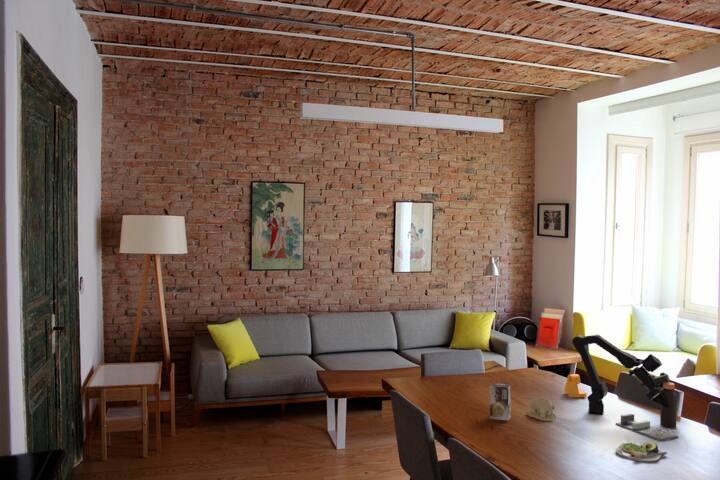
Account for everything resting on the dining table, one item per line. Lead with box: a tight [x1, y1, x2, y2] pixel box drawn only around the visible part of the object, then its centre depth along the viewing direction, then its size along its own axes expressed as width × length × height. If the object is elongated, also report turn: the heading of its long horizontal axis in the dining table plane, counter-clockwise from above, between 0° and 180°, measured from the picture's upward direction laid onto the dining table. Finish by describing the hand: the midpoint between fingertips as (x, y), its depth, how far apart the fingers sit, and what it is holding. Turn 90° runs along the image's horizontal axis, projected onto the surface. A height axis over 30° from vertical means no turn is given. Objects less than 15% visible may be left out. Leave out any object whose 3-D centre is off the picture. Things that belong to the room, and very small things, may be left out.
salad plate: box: [615, 441, 668, 463], centre depth 246 cm, size 19×18×5 cm
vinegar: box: [659, 381, 678, 429], centre depth 284 cm, size 7×7×20 cm
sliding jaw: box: [620, 413, 651, 429], centre depth 282 cm, size 10×9×4 cm
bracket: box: [564, 373, 588, 398], centre depth 335 cm, size 11×7×12 cm, turn 13°
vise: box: [615, 420, 679, 442], centre depth 276 cm, size 24×11×3 cm, turn 24°
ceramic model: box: [526, 396, 556, 422], centre depth 297 cm, size 14×11×10 cm
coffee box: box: [489, 382, 512, 421], centre depth 294 cm, size 9×6×16 cm
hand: (670, 405), depth 283 cm, fingers open, 9 cm apart
